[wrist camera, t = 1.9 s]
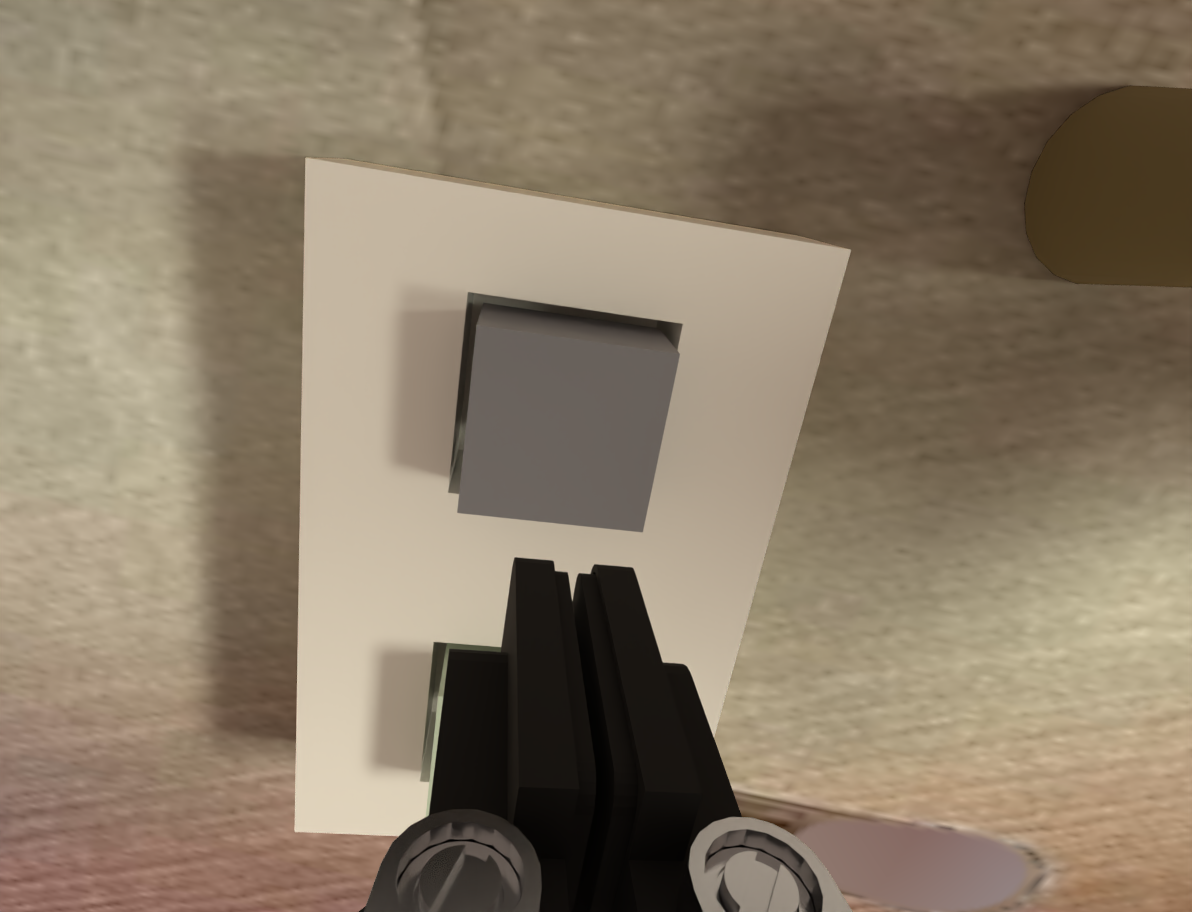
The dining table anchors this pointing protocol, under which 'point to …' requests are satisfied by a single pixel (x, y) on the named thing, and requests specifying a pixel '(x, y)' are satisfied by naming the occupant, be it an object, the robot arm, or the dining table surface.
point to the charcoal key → (564, 418)
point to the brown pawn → (1117, 191)
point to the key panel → (437, 433)
